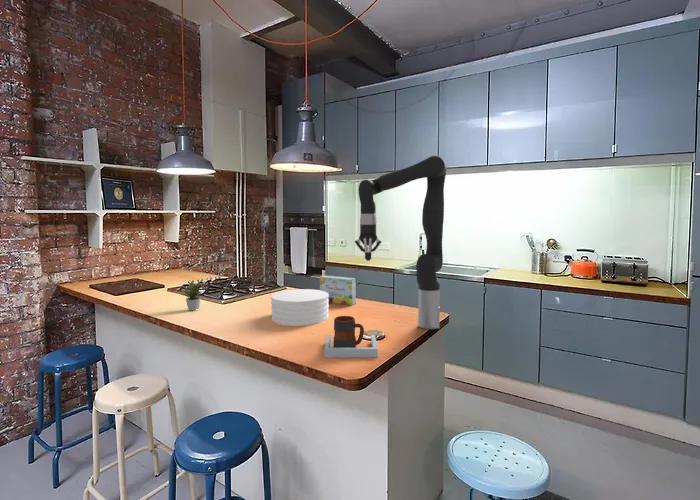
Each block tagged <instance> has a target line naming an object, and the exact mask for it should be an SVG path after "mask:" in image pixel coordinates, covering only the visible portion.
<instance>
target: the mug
mask: <svg viewBox="0 0 700 500" xmlns="http://www.w3.org/2000/svg"><path fill="white" fill-rule="evenodd" d="M355 319H356V318H355V317H354V316H350V315H340V316H336V317H334V319H333V322H334V323H333V330H334V336H333V348H357V347H356V346H358V345H360V344H361V342H362V341H363V338H364V334H365V330H364V329H365V328H364V326H363V325H362V324H361V323H356V320H355ZM356 328H358V329H359V335H358V337H356Z"/></svg>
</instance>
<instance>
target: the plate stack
mask: <svg viewBox="0 0 700 500" xmlns="http://www.w3.org/2000/svg"><path fill="white" fill-rule="evenodd" d="M328 297H329V294H328V293H327V292H325V291H321V290H320V289H311V288H303V289H301V288H300V289H289V290H288V289H287V290H281V291H278V292H275V293H274V292H273V294H271V295H270V299H271V301H270V302H271V303H270V304H271V320H272V322H273V323H275V324H278V325H283V326H291V327H292V326H293V327H295V326H296V327H297V326H298V327H301V326H310V325H316V324H320V323H323V322H326V321H327V320H328V319H329V317H330V315H329V313H330V311H329V306H330V305H329V304H330V303H328V302H329V299H328Z"/></svg>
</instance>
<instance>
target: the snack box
mask: <svg viewBox="0 0 700 500" xmlns="http://www.w3.org/2000/svg"><path fill="white" fill-rule="evenodd" d="M356 283H357V282H356V277H355V278H354V277H348V276H347V277H345V276H336V275H325V274H324V275H321V276H319V290H321V291H325V292H327V293H328V294H329V297H328V299H329V302H328V304H334V305H344V306H351V307H352V306H354V305H356V304H357V299H356V298H357V297H356V293H357V292H356V287H357V285H356Z"/></svg>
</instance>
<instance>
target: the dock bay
mask: <svg viewBox="0 0 700 500" xmlns="http://www.w3.org/2000/svg"><path fill="white" fill-rule="evenodd" d="M370 337H371V339H370V343H371V347H355V348H334V347H331V345H332V335H330V334H328V335H326V340H325V344H324V358H378V356H379V354H378V353H379V351H378V350H379V347H378V342H377V338H376V334H371V336H370Z"/></svg>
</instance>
